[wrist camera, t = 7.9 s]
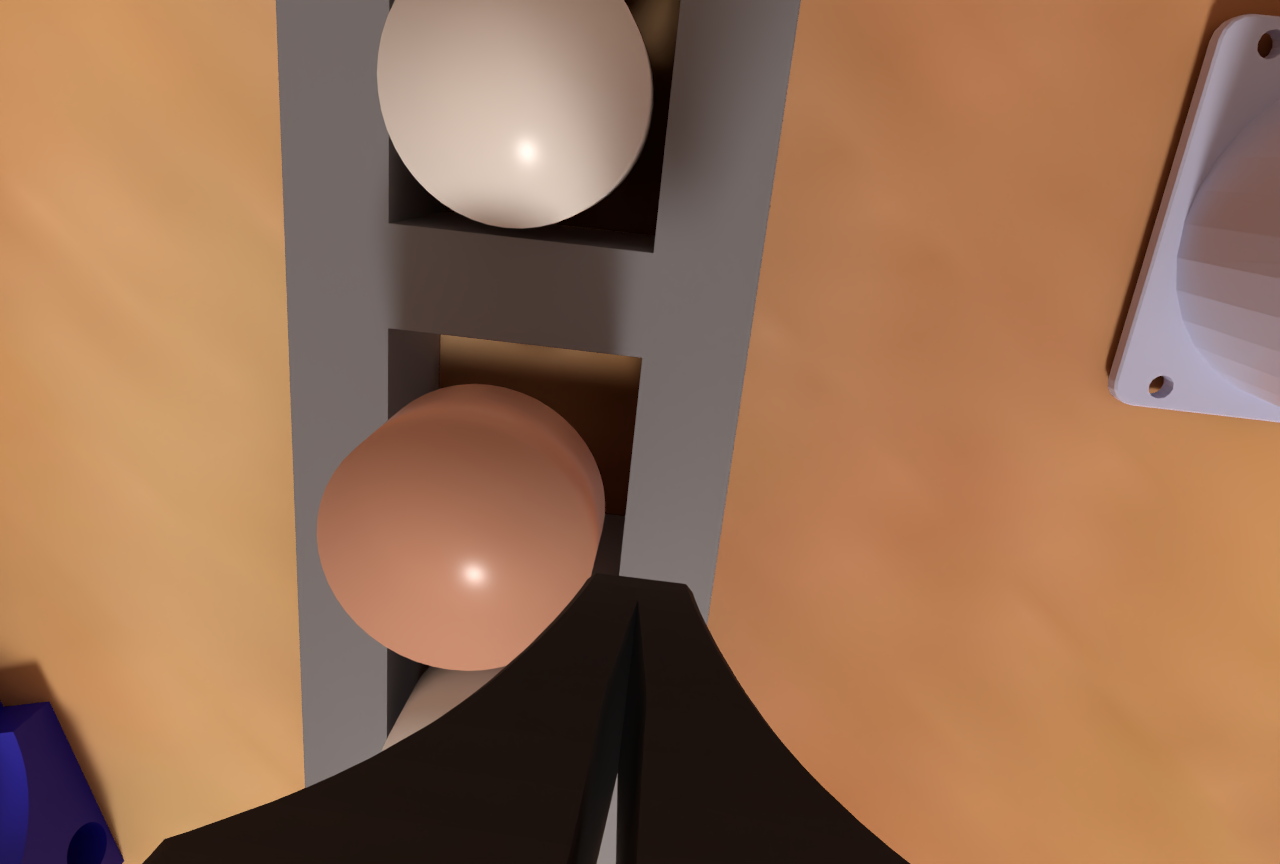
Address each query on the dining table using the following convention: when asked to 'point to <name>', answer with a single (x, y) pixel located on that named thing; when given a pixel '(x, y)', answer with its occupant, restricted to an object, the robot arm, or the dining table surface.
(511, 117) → the knob near
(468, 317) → the mount
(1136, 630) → the dining table surface
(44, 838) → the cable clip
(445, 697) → the knob far
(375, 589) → the knob middle
